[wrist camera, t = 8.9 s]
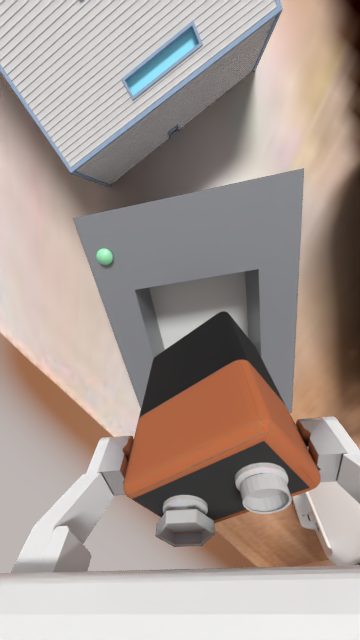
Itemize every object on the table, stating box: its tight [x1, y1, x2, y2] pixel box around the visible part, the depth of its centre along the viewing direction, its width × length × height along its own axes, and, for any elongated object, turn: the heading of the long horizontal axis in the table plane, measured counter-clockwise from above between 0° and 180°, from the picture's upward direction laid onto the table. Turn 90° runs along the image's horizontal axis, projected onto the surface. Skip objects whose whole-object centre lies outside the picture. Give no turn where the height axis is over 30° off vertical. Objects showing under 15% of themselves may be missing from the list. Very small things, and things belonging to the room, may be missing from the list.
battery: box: [123, 311, 321, 547], centre depth 12 cm, size 4×7×10 cm, turn 129°
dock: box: [73, 168, 304, 413], centre depth 22 cm, size 22×16×6 cm
